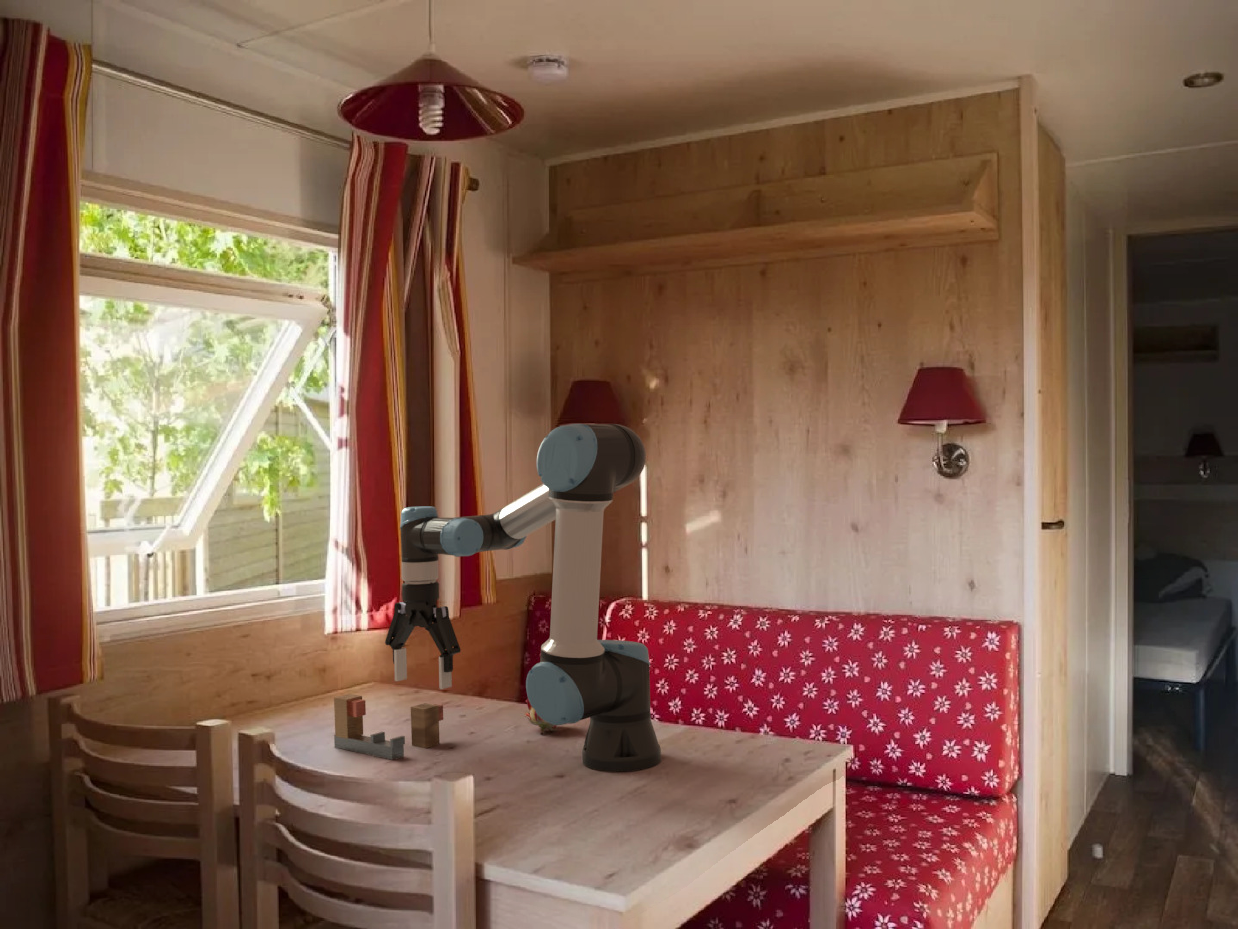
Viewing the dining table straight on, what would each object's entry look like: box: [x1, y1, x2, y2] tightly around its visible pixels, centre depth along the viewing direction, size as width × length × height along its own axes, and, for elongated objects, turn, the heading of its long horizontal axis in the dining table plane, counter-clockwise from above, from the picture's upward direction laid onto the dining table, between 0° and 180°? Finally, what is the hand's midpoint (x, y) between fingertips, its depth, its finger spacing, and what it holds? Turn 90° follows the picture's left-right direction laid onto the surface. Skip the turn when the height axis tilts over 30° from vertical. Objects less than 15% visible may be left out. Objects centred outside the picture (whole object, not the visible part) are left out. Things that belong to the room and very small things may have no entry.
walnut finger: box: [410, 702, 444, 749], centre depth 230 cm, size 6×4×8 cm, turn 142°
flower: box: [524, 698, 560, 735], centre depth 237 cm, size 10×9×8 cm
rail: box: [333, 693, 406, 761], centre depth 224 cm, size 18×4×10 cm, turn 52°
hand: (422, 684), depth 229 cm, fingers open, 13 cm apart
